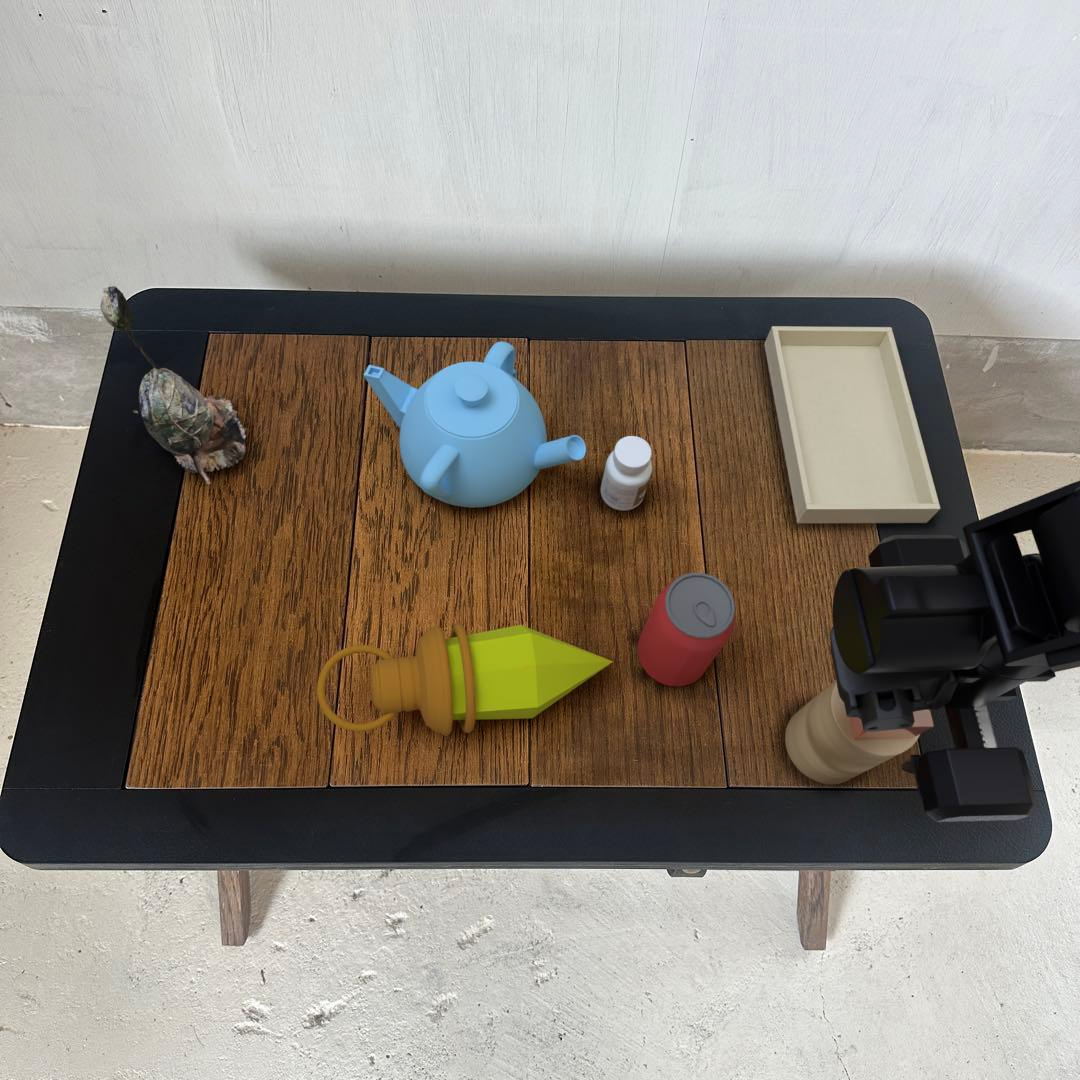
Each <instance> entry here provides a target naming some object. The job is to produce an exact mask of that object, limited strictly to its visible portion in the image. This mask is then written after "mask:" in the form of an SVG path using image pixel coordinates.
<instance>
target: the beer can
mask: <svg viewBox="0 0 1080 1080" xmlns="http://www.w3.org/2000/svg"><path fill="white" fill-rule="evenodd" d="M735 612H736V604H735V598H734V597H733V594H732V592H731V589H730V588H729V587H728V586H727V585H726V584H725V583H724V582H723V581H722V580H720V579H719V578H717V577H716V576H714V575H711V574H709V573H705V572H689V573H685V574H682V575H680V576H679V577H677V578H676V579H674V580H672V582H670V583H668V584H666V586H665V587H663V588H662V590H661V591H660V593H659V594H658V596H657V597H656V599H655V601H654V603H653V606H652V608H651V611H650V613H649V615H648V617H647V620H646V622H645V624H644V626H643V628H642V631H641V633H640V636H639V639H638V643H637V657H638V660H639V663H640V665H641V667H642V669H643V670H644V671H645V672H646V673H647V675H648V676H649V677H650V678H651V679H653V680H654V681H656V682H658V683H659V684H663V685H665V686H669V687H684V686H687V685H691V684H693V683H695V682H696V681H697V680H698V679H700V678H702V676H704V674H705V673H706V671H707V670H708V668H709V667H710V665H711V664H712V663H713V661H714V660H715V658H716V657H717V655H718V654H719V653H720V651H721V650H722V649H723V647H724V646H725V645H726V643H727V641H728V640H729V638H730V637H731V635H732V634H733V631H734V628H735V622H736V613H735Z"/></svg>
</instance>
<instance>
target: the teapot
mask: <svg viewBox="0 0 1080 1080" xmlns="http://www.w3.org/2000/svg"><path fill="white" fill-rule="evenodd" d="M515 362H516V349H515V347H514V345H512V344H511V343H509V342H507V341H502V340H501V341H496V342H495V343H494V344H493V345H492V346H491V348H490V349H489V351H488V352H487V354H486V356H485V358H484V360H483V362H481V361H462V362H458V363H454V364H452V365H448V366H446V367H444V368H442V369H440V370H439V371H437V372H436V373H435V374H433V375H432V376H431V377H429V378H428V379H427V380H426V381H424V383H422V385H421V386H420V387H419V388H416V387H414V386H412V385H410V384H408V383H406V382H405V381H403V380H402V379H400V378H398V377H397V376H395V375H394V374H392V373H390V372H388V371H387V370H386V369H385V368H384V367H381V366H377V365H372V364H368V366H367V367H366V369H365V371H364V373H363V378H364V379H365V380H366V381H367V383H368V384H369V386H370V387H371V389H372V391H373V392H374V394H375V395H376V396H377V397H378V399H379V400H380V402H381V403H382V405H383V406H384V408H385V409H386V411H387V412H388V414H389V416H390V418H392V419H393V421H394V423H395V424H396V426H397V427H398V428H400V431H399V436H398V437H399V438H398V439H399V444H398V445H399V453H400V458H401V461H402V465H403V466H404V469H405V471H406V473H407V474H408V476H409V477H410V479H411V480H412V481H413V482H414V483H415V484H416V485H417V486H418V487H419V488H420V489H421V490H422V491H423V493H425V494H426V495H429V496H431V497H432V498H433V499H436V500H439V501H440V502H443V503H445V504H449V505H452V506H454V507H455V506H456V507H460V508H485V507H492V506H495V505H500V504H502V503H504V502H506V501H507V502H508V501H509V500H511V499H512V498H515V497H516V496H518V495H519V494H521V493H522V492H523V491H524V490H526V488H528V487H529V485H530V484H531V483H532V482H533V481H534V480H535V478H536V477H537V476H538V474H539V472H540V471H541V470H544V469H547V468H552V467H556V466H560V465H564V464H568V463H572V462H573V463H574V462H576V461H581V460H583V458H584V457H585V456H586V453H587V446H586V442H585V441H584V439H583V438H582V437H581V436H579V435H578V434H571V435H569V436H565V437H561V438H557V439H555V440H551V441H548V435H547V428H546V423H545V420H544V417H543V414H542V411H541V409H540V407H539V404H538V403H537V401H536V400H535V398H534V396H533V394H532V393H531V392H530V391H529V389H528V388H527V387H526V386H525V385H523V384H522V383H521V382H520V381H519V380H518V379H517V378H518V372H517V371H516V369H515Z"/></svg>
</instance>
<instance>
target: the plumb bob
mask: <svg viewBox="0 0 1080 1080" xmlns="http://www.w3.org/2000/svg"><path fill="white" fill-rule="evenodd" d="M360 653H361V654H363V653H364V654H370V655H371V654H372V655H374V656H377V657H379V658H380V659H377V661H376V663H375V664H374V665H373V666H372V668H371V670H370V677H369V678H370V693H371V701H372V703H373V706H374V708H375V709H376V710H377V711H379V712H380V713H381V715H382V716H380V717H379V718H377V719H375V720H373V721H370V722H365V723H357V722H356V723H355V722H350V721H347V720H345V719H343V718H341V717H340V716H339V715H337V714H336V713H335V711H333V710H332V708H331V707H330V705H329V703H328V699H327V695H326V684H327V679H328V677H329V674H330V672H331V670H332V669H333V668H334V667H335V665H336V664H337V663H338V662H339V661H341V660H342V659H344V658H345V657H348V656H350V655H354V654H360ZM613 663H614V661H612V660H610V659H608V658H605V657H603V656H600V655H598V654H595V653H593V652H590V651H588V650H586V649H583V648H581V647H578V646H575V645H573V644H570V643H568V642H565V641H563V640H560V639H558V638H555V637H553V636H550V635H548V634H545V633H543V632H541V631H537V630H535V629H533V628H530V627H527V626H525V625H523V624H518V625H513V626H508V627H503V628H497V629H492V630H487V631H481V632H476V633H471V634H470V633H469V634H467V630H466V628H465V626H464V625H462V624H461V623H455V624H454V625H453V626H452V628H451V635H450V637H449V638H446V637H445V633H444V631H443V628H442V627H440V625H434V626H432V628H430V629H428V630H426V631H425V632H424V633H423V634H422V636H421V637H420V638H419V639H418V641H417V644H416V649H415V655H414V656H401V657H400V658H397V657H393V656H392V655H391V654H390V653H388V652H387V651H385V650H383V649H382V648H380V647H376V646H373V645H370V644H369V645H368V644H356V645H351V646H348V647H345V648H343V649H341V650H339V651H337V652H336V653H335V654H334V655H332V656H331V657H330V658H329V659H328V660H327V661H326V663H325V664H324V666H323V667H322V669H321V671H320V673H319V676H318V680H317V683H316V684H317V685H316V694H317V700H318V704H319V707H320V709H321V711H322V712H323V714H324V715H325V717H326V718H327V719H328V720H329V721H330V722H331V723H332V724H334V725H336V726H337V727H339V728H341V729H342V730H346V731H349V732H356V733H357V732H358V733H361V732H363V733H364V732H369V731H373V730H376V729H378V728H381V727H383V726H384V725H385V724H386V723H388V722H389V721H391V720H392V718H393V717H394V716H395V715H396V714H397V713H398V714H399V713H402V712H403V711H404V712H413V711H415V710H418V711H420V714H421V716H422V719H423V722H424V723H425V725H426V727H428V728H429V729H430V730H432V731H433V732H435V733H437V734H441V735H442V736H446V737H447V736H449V735H450V734H451V733H452V731H453V721H458V722H459V725H460V728H461V730H462V731H463V732H464V733H466V734H469V733H472V732H473V730H474V728H475V724H476V720H513V719H514V720H515V719H518V720H519V719H534V718H535V717H537V716H538V715H539V714H541V713H542V712H544V711H545V710H546V709H548V708H549V707H551V706H552V705H553V704H555V703H556V702H558V701H559V700H560V699H563V698H564V697H565V696H566V695H568V694H569V693H570V692H572V691H573V690H575V689H577V688H578V687H579V686H580V685H583V684H584V683H585V682H586V681H588V680H589V679H591V678H593V677H594V676H595V675H596V674H598V673H600V672H601V671H602V670H604V669H606V668H607V667H608V666H610V665H611V664H613Z"/></svg>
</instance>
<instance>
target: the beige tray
mask: <svg viewBox="0 0 1080 1080" xmlns="http://www.w3.org/2000/svg"><path fill="white" fill-rule="evenodd" d="M763 345H764V351H765V355H766V361H767V366H768V372H769V373H768V374H769V378H770V383H771V388H772V389H771V390H772V393H773V400H774V404H775V405H774V406H775V410H776V415H777V416H776V417H777V421H778V422H777V423H778V427H779V432H780V437H781V443H782V450H783V453H784V461H785V465H786V470H787V476H788V481H789V486H790V487H789V488H790V493H791V497H792V504H793V509H794V513H795V514H794V515H795V519H796V524H927V523H928V522H929V521H930V520H931V519H932V518H934V516H935V515H936V514H937V513H938V512H939V511H940V510H941V505H940V502H939V499H938V494H937V491H936V487H935V483H934V479H933V476H932V472H931V468H930V465H929V461H928V457H927V453H926V450H925V446H924V442H923V439H922V435H921V431H920V428H919V424H918V420H917V416H916V413H915V409H914V405H913V402H912V397H911V395H910V391H909V390H910V389H909V387H908V383H907V380H906V376H905V371H904V368H903V365H902V361H901V357H900V354H899V350H898V346H897V342H896V339H895V336H894V332H893V328H892V327H891V326H799V325H798V326H796V325H795V326H794V325H793V326H790V325H787V326H783V325H781V326H779V325H773V326H771V328H770V330H769V332H768V334H767V337H766V339H765V342H764V344H763Z"/></svg>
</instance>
